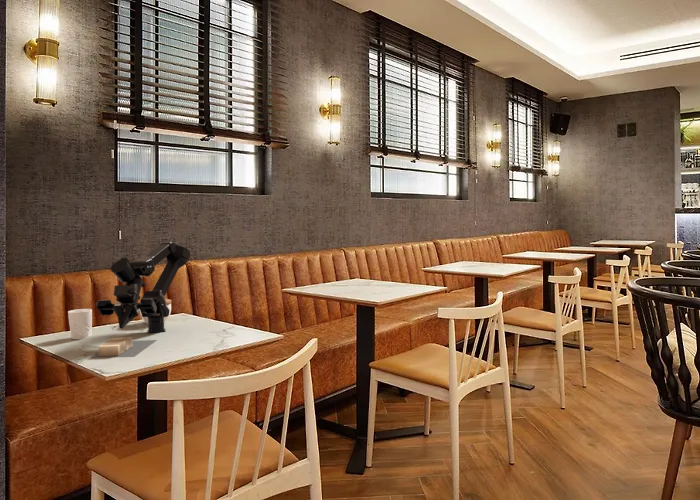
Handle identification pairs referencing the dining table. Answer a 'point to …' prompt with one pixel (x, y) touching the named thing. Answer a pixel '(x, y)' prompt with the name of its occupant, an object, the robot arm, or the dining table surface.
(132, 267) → the robot arm
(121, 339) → the birch block
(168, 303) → the lidded bowl
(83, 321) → the white cup
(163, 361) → the dining table surface
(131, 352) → the rubber mat
